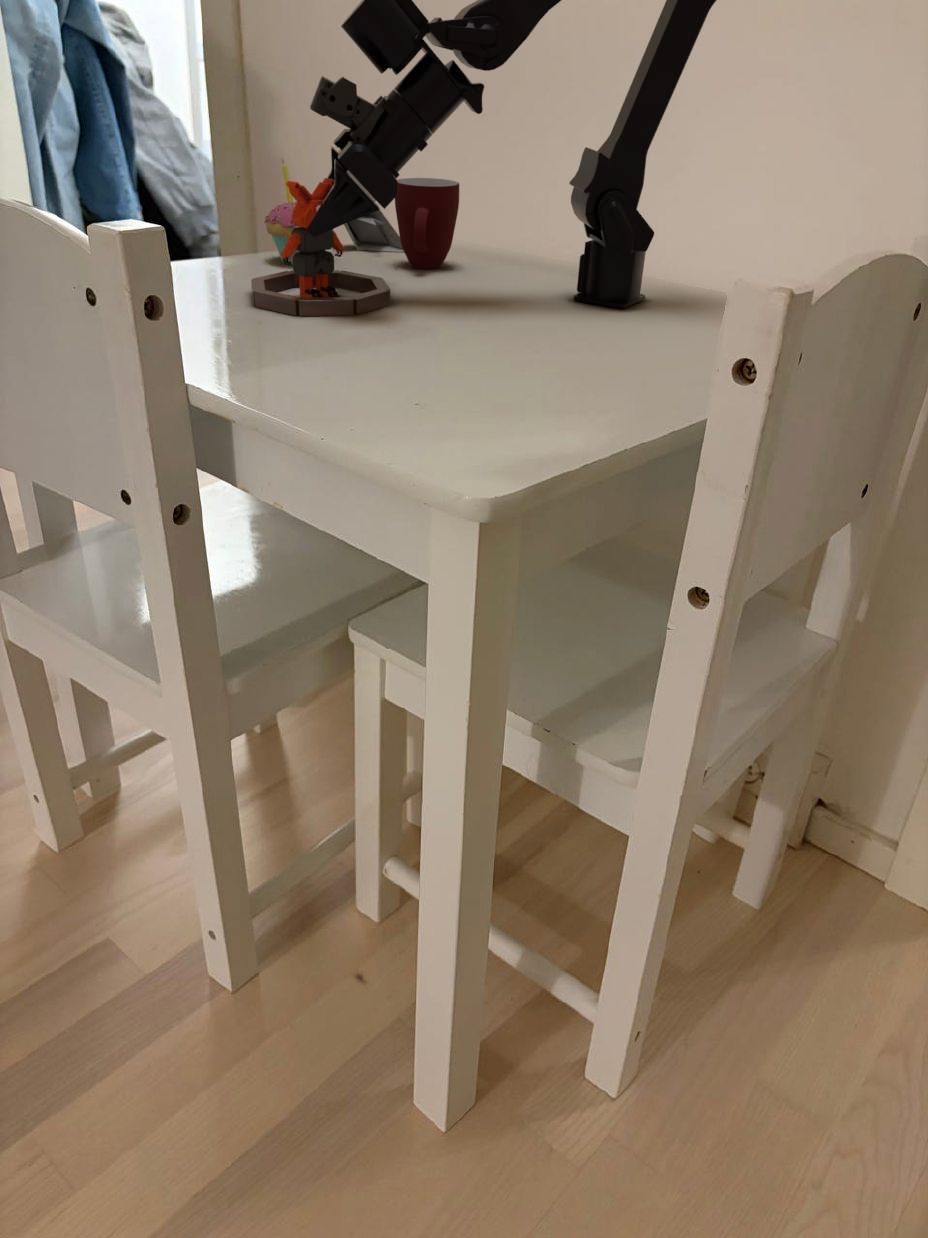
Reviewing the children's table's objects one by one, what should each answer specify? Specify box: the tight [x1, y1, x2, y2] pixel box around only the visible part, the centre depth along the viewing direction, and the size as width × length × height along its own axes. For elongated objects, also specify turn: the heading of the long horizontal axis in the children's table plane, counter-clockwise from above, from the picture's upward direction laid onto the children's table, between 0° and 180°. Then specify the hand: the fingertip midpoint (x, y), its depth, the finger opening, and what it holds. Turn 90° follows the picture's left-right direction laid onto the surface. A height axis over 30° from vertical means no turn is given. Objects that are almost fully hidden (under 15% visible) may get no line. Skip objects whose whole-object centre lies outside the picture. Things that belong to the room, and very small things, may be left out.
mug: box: [394, 177, 460, 270], centre depth 120 cm, size 10×8×10 cm
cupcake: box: [264, 157, 334, 266], centre depth 120 cm, size 9×8×12 cm
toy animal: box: [281, 177, 345, 298], centre depth 103 cm, size 8×6×12 cm
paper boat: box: [343, 209, 404, 253], centre depth 129 cm, size 12×6×9 cm
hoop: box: [250, 269, 391, 317], centre depth 105 cm, size 15×15×2 cm
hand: (309, 225), depth 102 cm, fingers open, 9 cm apart
